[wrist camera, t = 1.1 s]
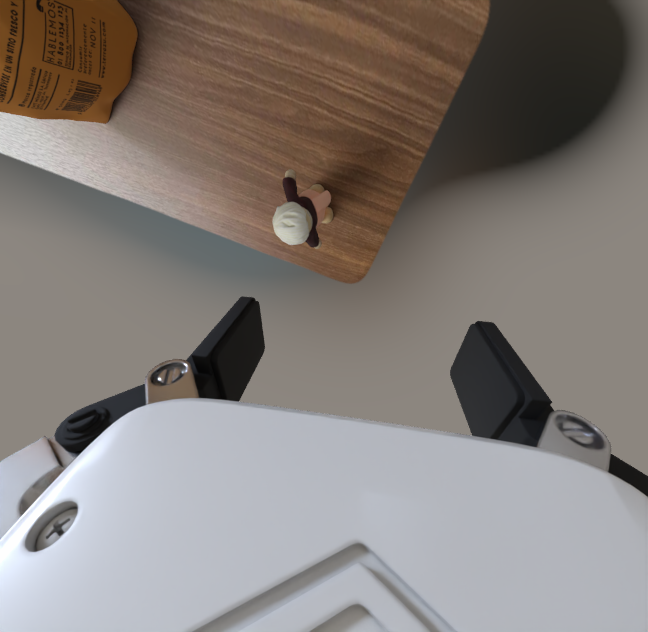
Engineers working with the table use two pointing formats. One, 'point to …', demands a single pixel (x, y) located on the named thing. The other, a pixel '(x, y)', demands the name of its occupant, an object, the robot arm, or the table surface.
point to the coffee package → (64, 57)
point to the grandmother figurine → (302, 213)
